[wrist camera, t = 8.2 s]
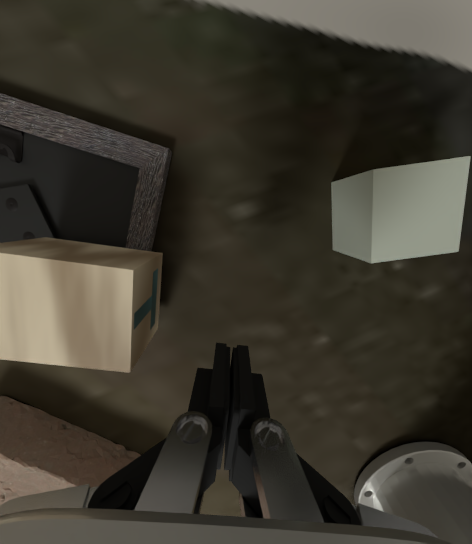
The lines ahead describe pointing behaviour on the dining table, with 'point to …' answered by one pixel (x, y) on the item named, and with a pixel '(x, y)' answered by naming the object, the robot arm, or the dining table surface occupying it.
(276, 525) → the robot arm
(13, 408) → the brick
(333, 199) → the sage block
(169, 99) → the dining table surface
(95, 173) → the picture frame
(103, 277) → the maple block
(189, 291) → the dining table surface
